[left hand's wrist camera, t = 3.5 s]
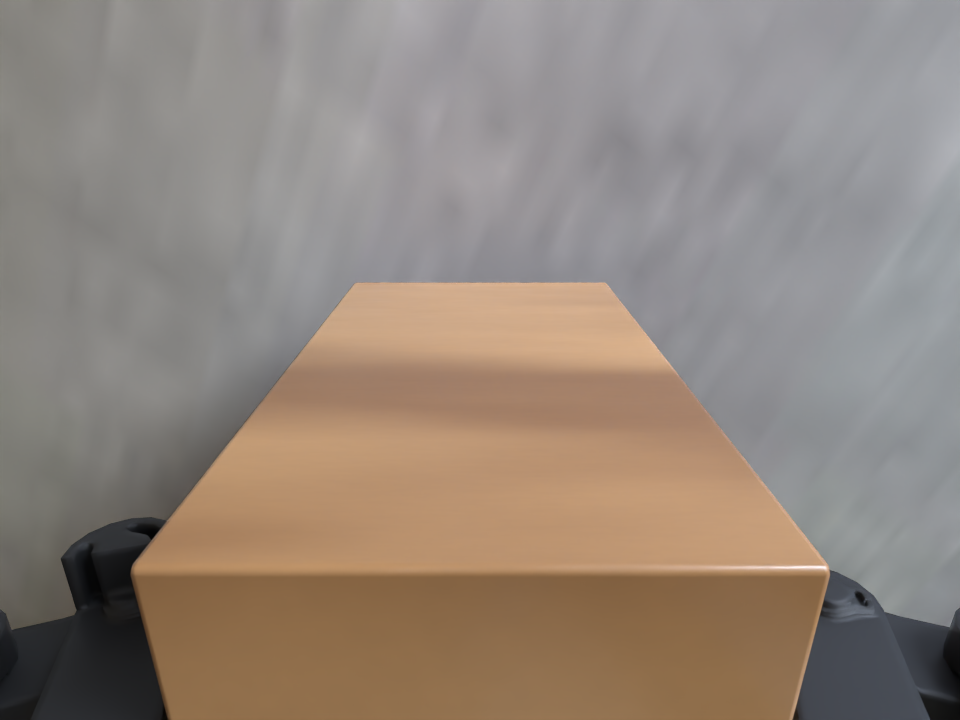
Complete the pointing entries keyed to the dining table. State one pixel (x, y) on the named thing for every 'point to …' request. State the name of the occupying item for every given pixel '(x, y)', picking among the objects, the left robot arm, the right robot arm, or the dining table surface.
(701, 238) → the dining table surface
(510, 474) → the bar
